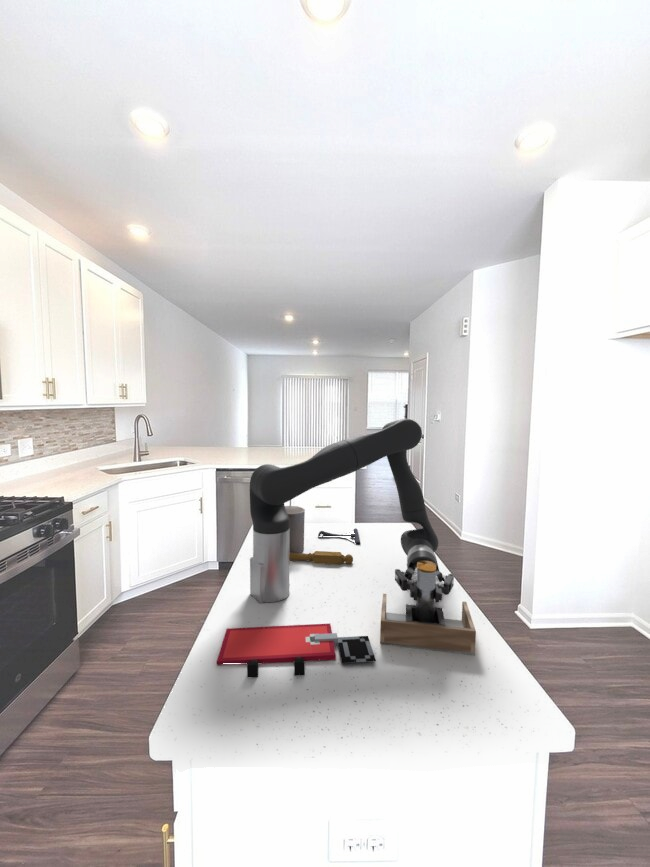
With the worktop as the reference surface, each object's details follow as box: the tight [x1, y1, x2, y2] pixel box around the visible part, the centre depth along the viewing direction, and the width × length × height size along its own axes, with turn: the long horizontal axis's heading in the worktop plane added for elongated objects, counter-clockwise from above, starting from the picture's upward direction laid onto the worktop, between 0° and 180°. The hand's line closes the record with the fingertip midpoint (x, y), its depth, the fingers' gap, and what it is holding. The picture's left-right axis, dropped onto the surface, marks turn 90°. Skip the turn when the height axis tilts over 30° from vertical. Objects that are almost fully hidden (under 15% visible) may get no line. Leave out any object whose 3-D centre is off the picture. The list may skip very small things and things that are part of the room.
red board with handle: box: [216, 623, 377, 678], centre depth 80 cm, size 30×3×15 cm
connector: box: [415, 561, 436, 623], centre depth 87 cm, size 4×4×13 cm
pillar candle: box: [284, 505, 306, 553], centre depth 133 cm, size 10×10×15 cm
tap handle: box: [289, 550, 354, 566], centre depth 124 cm, size 3×3×30 cm
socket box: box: [379, 593, 477, 656], centre depth 86 cm, size 12×19×5 cm, turn 79°
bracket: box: [317, 527, 361, 545], centre depth 146 cm, size 14×15×3 cm
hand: (426, 597), depth 84 cm, fingers closed on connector, 4 cm apart
